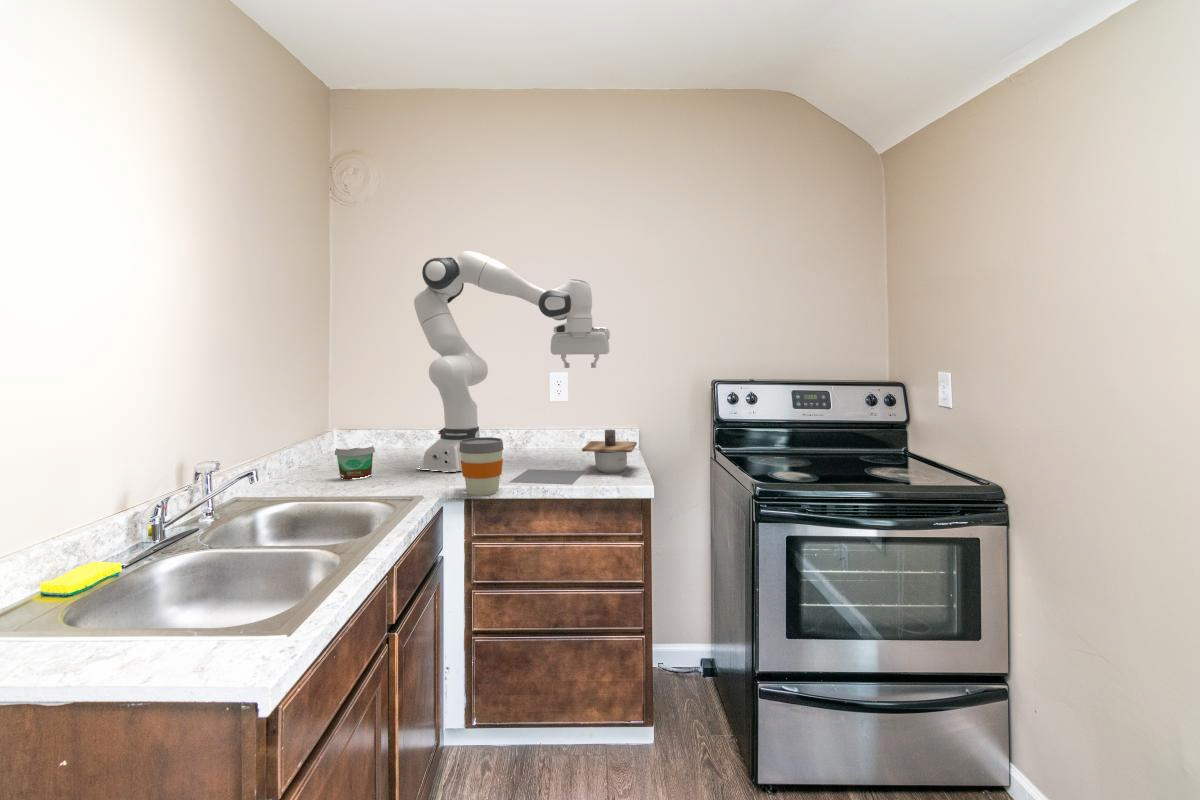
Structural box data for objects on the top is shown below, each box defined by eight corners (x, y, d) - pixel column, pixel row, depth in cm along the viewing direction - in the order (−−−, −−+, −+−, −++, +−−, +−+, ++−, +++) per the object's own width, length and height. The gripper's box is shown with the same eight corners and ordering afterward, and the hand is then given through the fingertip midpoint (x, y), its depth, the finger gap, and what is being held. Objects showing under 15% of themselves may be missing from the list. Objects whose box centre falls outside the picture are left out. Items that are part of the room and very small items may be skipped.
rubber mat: (508, 483, 189) (508, 482, 189) (528, 470, 208) (528, 469, 208) (572, 485, 185) (572, 484, 185) (586, 472, 205) (586, 470, 205)
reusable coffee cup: (504, 485, 186) (503, 436, 185) (505, 495, 174) (503, 443, 172) (461, 487, 184) (460, 438, 183) (459, 498, 172) (457, 444, 170)
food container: (337, 482, 193) (335, 451, 192) (335, 479, 198) (334, 448, 197) (378, 478, 199) (377, 447, 198) (376, 474, 204) (374, 444, 203)
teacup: (624, 476, 198) (624, 451, 197) (591, 475, 200) (591, 450, 199) (630, 467, 212) (630, 444, 211) (599, 466, 214) (599, 443, 213)
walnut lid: (582, 451, 198) (581, 433, 198) (590, 443, 214) (590, 426, 214) (631, 452, 196) (631, 434, 195) (636, 444, 212) (636, 427, 211)
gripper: (611, 327, 213) (611, 367, 214) (553, 328, 217) (554, 367, 218) (607, 326, 207) (608, 368, 208) (548, 327, 211) (549, 368, 212)
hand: (580, 367), depth 213 cm, fingers open, 8 cm apart
